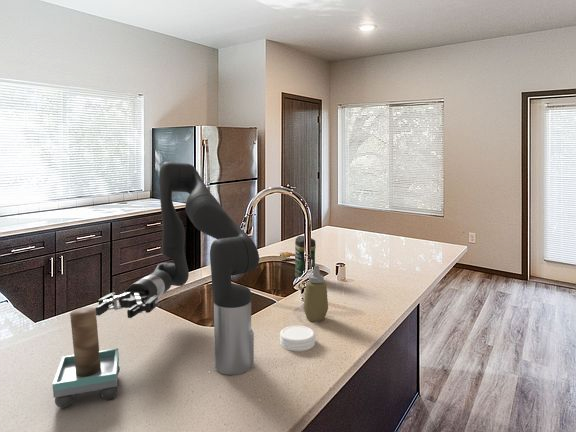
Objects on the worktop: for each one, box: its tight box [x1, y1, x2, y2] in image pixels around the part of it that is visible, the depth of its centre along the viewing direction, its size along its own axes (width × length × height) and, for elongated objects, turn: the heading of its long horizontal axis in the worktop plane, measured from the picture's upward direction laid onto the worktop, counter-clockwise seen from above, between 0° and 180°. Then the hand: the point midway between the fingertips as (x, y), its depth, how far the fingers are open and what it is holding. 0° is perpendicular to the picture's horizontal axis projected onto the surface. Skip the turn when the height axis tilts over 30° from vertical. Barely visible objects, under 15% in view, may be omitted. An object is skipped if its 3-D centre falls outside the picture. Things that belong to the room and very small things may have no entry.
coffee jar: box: [294, 235, 317, 279], centre depth 172 cm, size 10×8×19 cm
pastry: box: [278, 251, 295, 259], centre depth 205 cm, size 9×7×4 cm
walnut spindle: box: [69, 306, 101, 377], centre depth 89 cm, size 5×5×14 cm
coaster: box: [279, 325, 316, 352], centre depth 115 cm, size 10×10×4 cm
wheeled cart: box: [52, 348, 121, 409], centre depth 91 cm, size 12×12×6 cm
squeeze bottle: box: [303, 264, 329, 323], centre depth 131 cm, size 8×8×18 cm
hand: (112, 313), depth 99 cm, fingers open, 8 cm apart
